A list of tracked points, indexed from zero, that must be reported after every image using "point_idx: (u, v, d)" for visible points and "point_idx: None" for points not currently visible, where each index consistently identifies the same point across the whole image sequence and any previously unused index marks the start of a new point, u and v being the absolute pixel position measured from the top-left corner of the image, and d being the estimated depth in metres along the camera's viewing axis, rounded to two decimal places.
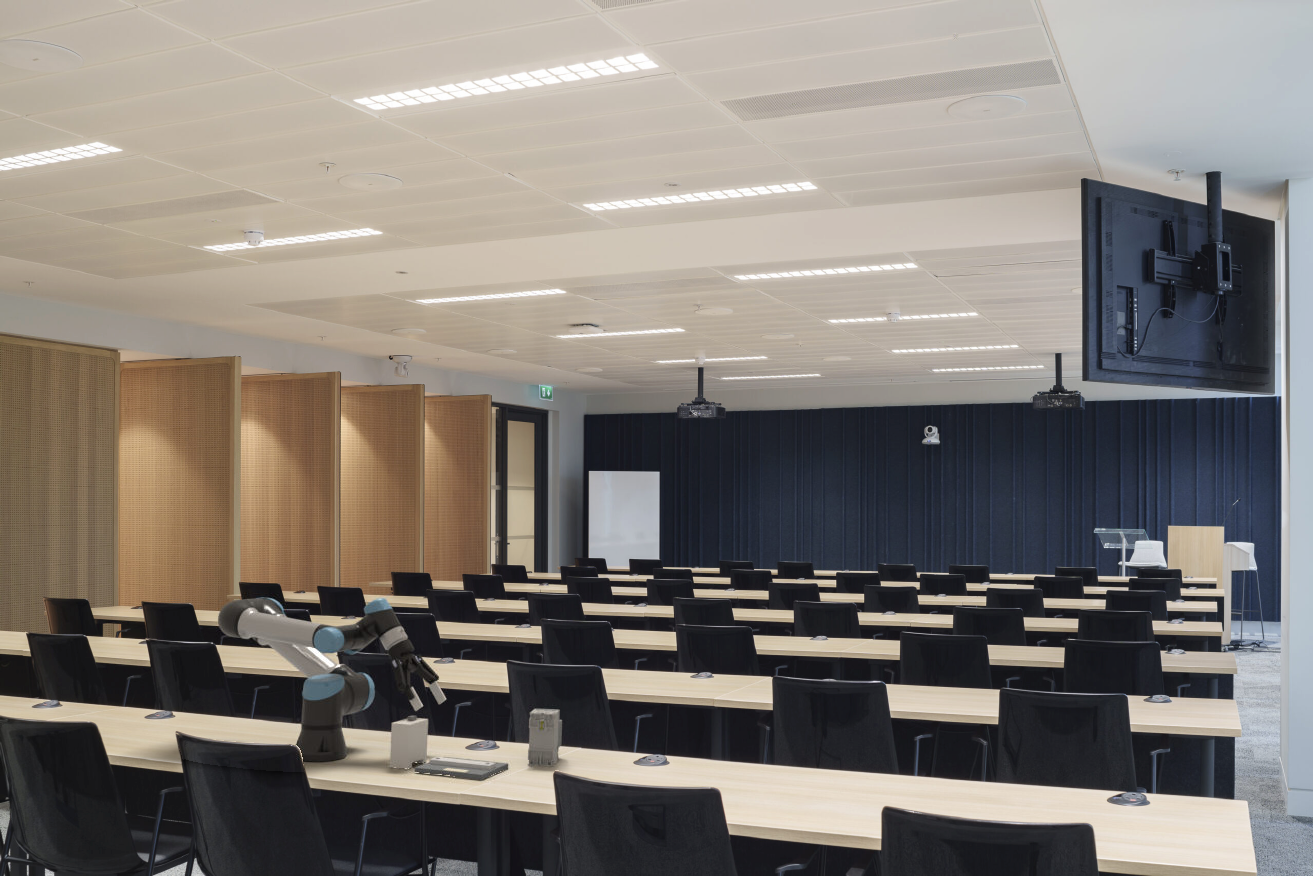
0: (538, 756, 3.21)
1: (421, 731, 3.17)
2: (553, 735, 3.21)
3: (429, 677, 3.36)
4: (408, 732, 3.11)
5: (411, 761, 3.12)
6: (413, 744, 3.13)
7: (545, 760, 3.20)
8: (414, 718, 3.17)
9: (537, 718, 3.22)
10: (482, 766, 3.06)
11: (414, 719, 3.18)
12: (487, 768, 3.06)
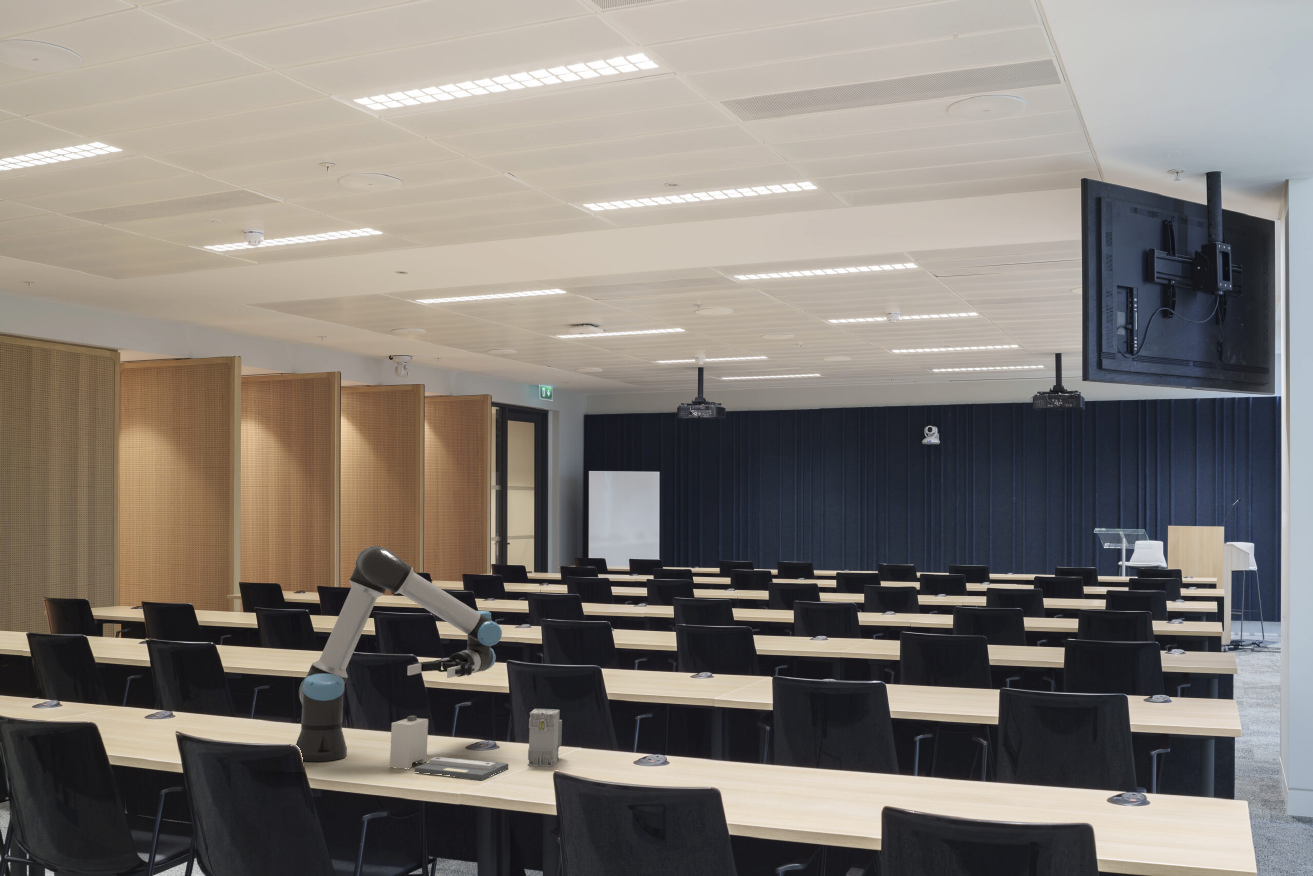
0: (538, 756, 3.21)
1: (421, 731, 3.17)
2: (553, 735, 3.21)
3: (426, 669, 3.37)
4: (408, 732, 3.11)
5: (411, 761, 3.12)
6: (413, 744, 3.13)
7: (545, 760, 3.20)
8: (414, 718, 3.17)
9: (537, 718, 3.22)
10: (482, 766, 3.06)
11: (414, 719, 3.18)
12: (487, 768, 3.06)
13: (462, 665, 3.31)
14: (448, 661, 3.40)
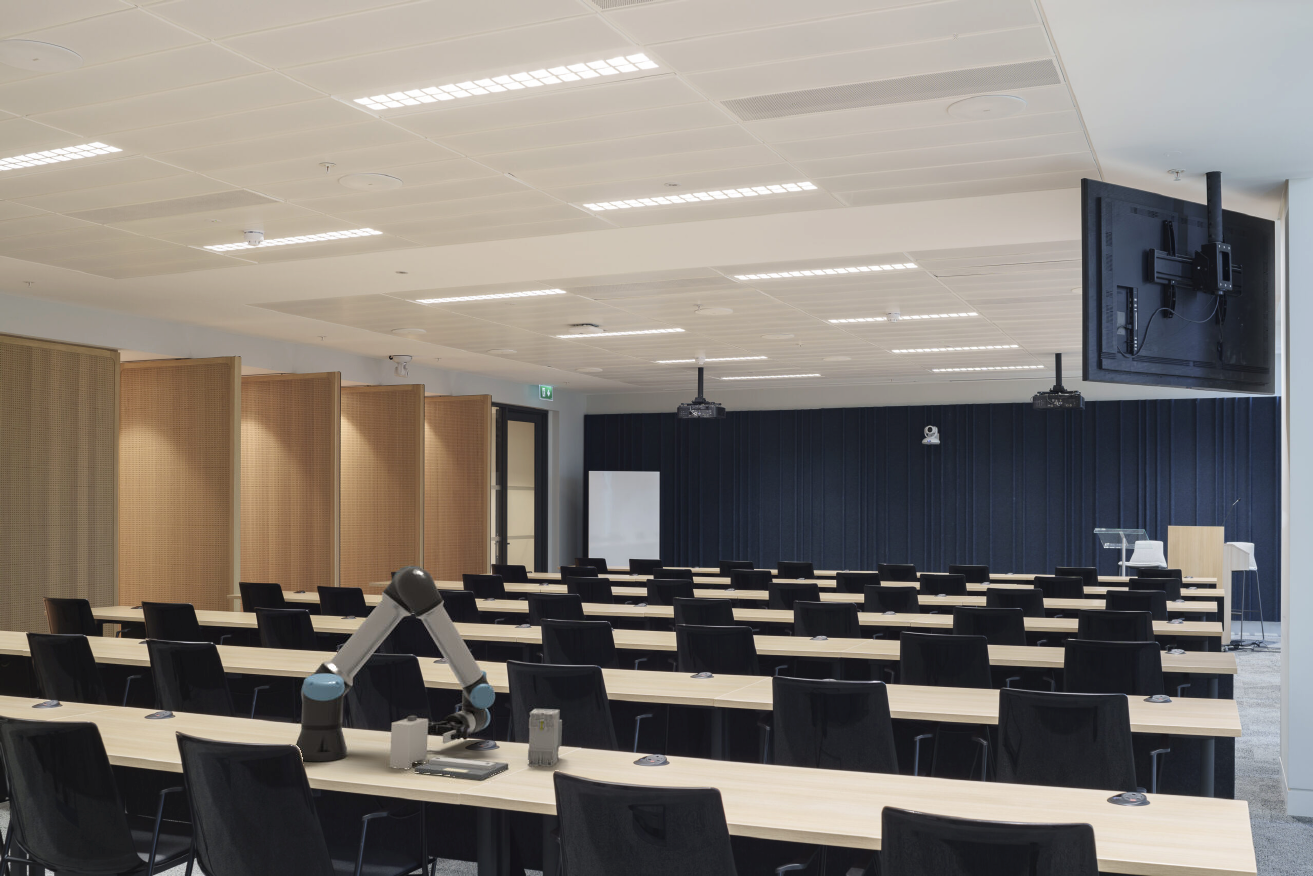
0: (538, 756, 3.21)
1: (421, 731, 3.17)
2: (553, 735, 3.21)
3: None
4: (408, 732, 3.11)
5: (411, 761, 3.12)
6: (413, 744, 3.13)
7: (545, 760, 3.20)
8: (414, 718, 3.17)
9: (537, 718, 3.22)
10: (482, 766, 3.06)
11: (414, 719, 3.18)
12: (487, 768, 3.06)
13: (458, 729, 3.27)
14: (443, 723, 3.37)
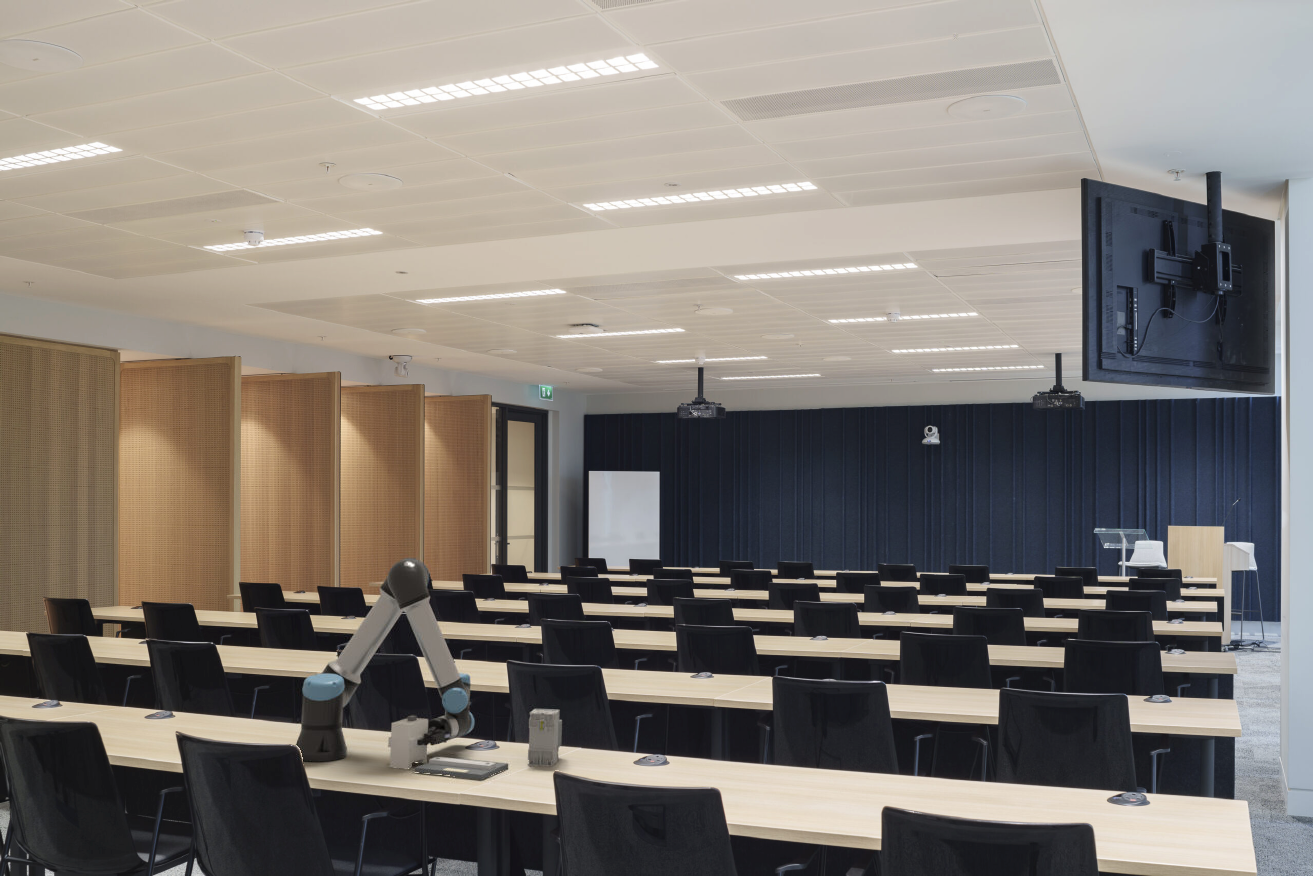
0: (538, 756, 3.21)
1: (421, 731, 3.17)
2: (553, 735, 3.21)
3: None
4: (408, 732, 3.11)
5: (411, 761, 3.12)
6: None
7: (545, 760, 3.20)
8: (414, 718, 3.17)
9: (537, 718, 3.22)
10: (482, 766, 3.06)
11: (414, 719, 3.18)
12: (487, 768, 3.06)
13: (424, 735, 3.17)
14: None
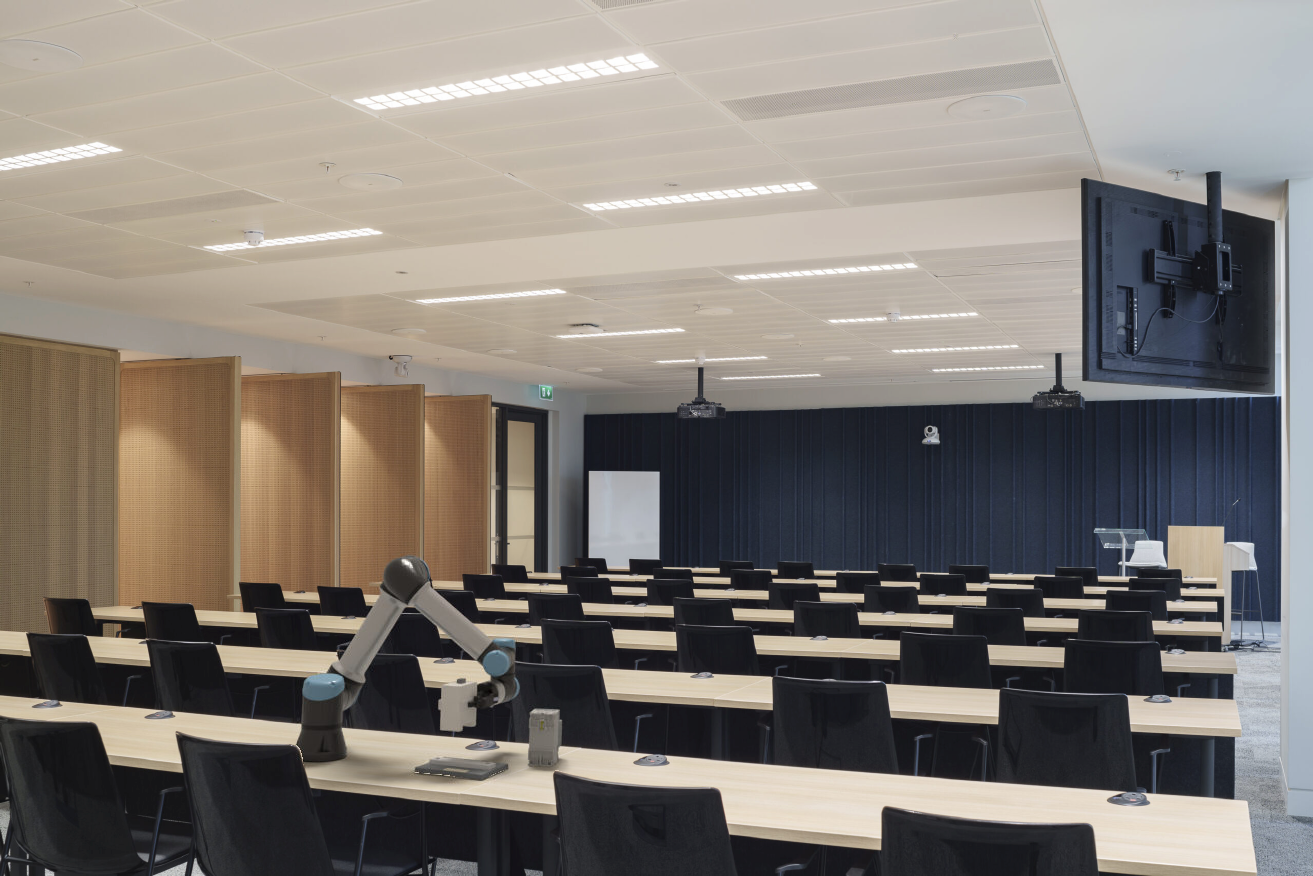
0: (538, 756, 3.21)
1: (470, 694, 3.14)
2: (553, 735, 3.21)
3: None
4: (459, 694, 3.08)
5: (462, 723, 3.09)
6: None
7: (545, 760, 3.20)
8: (463, 680, 3.14)
9: (537, 718, 3.22)
10: (482, 766, 3.06)
11: (463, 681, 3.14)
12: (487, 768, 3.06)
13: (474, 697, 3.14)
14: None
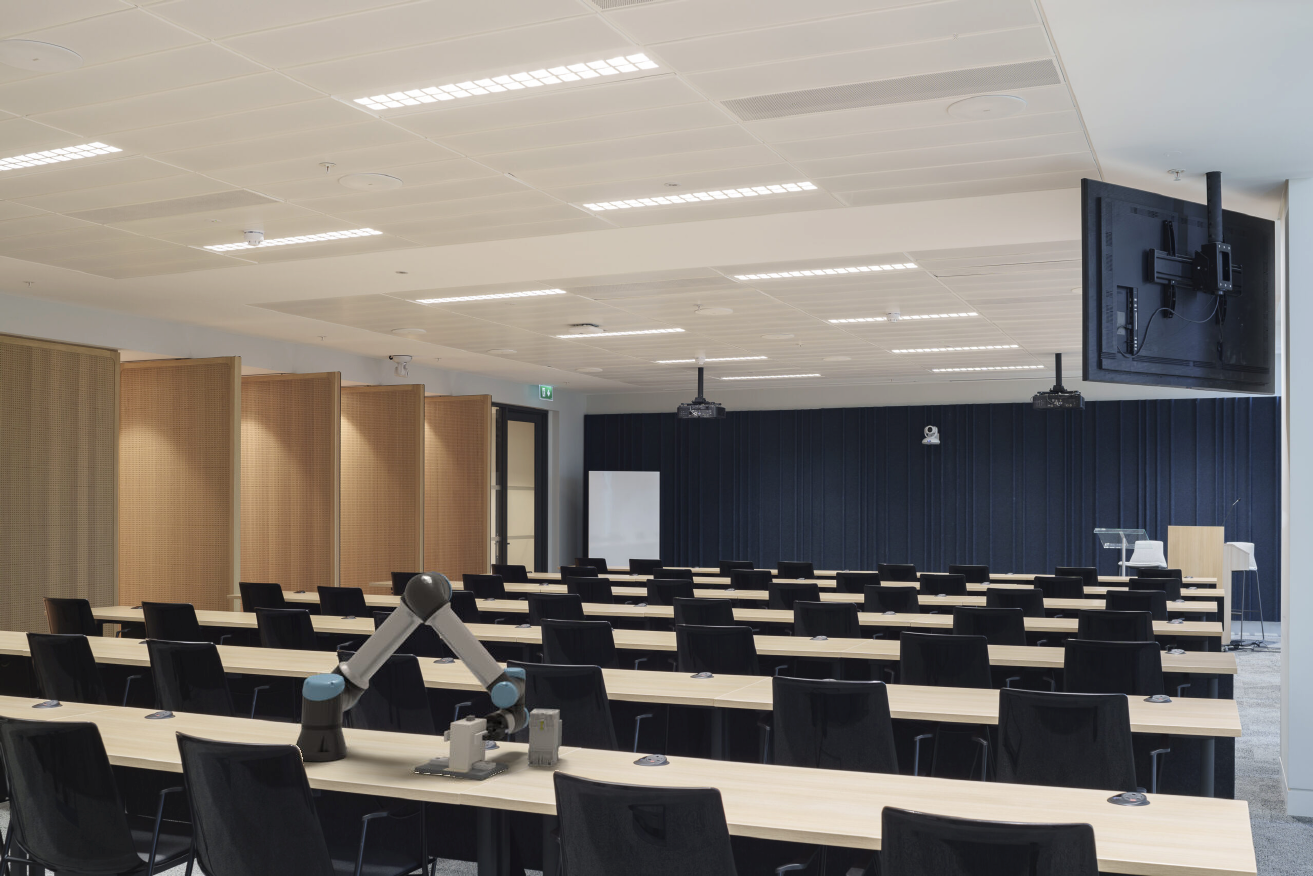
0: (538, 756, 3.21)
1: (480, 731, 3.11)
2: (553, 735, 3.21)
3: None
4: (468, 732, 3.05)
5: (471, 762, 3.06)
6: (472, 744, 3.07)
7: (545, 760, 3.20)
8: (472, 718, 3.12)
9: (537, 718, 3.22)
10: (482, 766, 3.06)
11: (473, 719, 3.12)
12: (487, 768, 3.06)
13: (489, 730, 3.11)
14: None
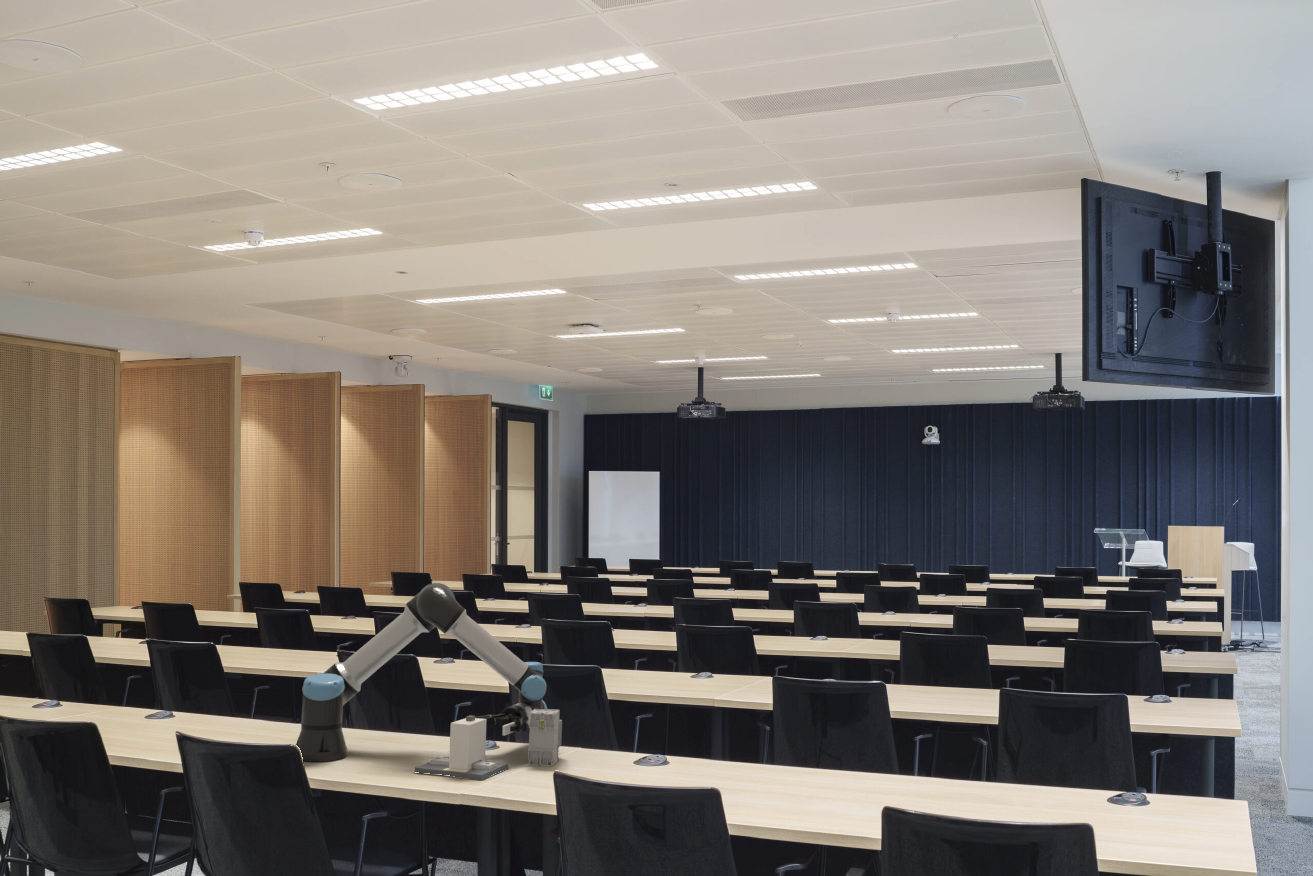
0: (538, 756, 3.21)
1: (480, 731, 3.11)
2: (553, 735, 3.21)
3: None
4: (468, 732, 3.05)
5: (471, 762, 3.06)
6: (472, 744, 3.07)
7: (545, 760, 3.20)
8: (472, 718, 3.12)
9: (537, 718, 3.22)
10: (482, 766, 3.06)
11: (473, 719, 3.12)
12: (487, 768, 3.06)
13: (517, 721, 3.24)
14: (501, 716, 3.33)
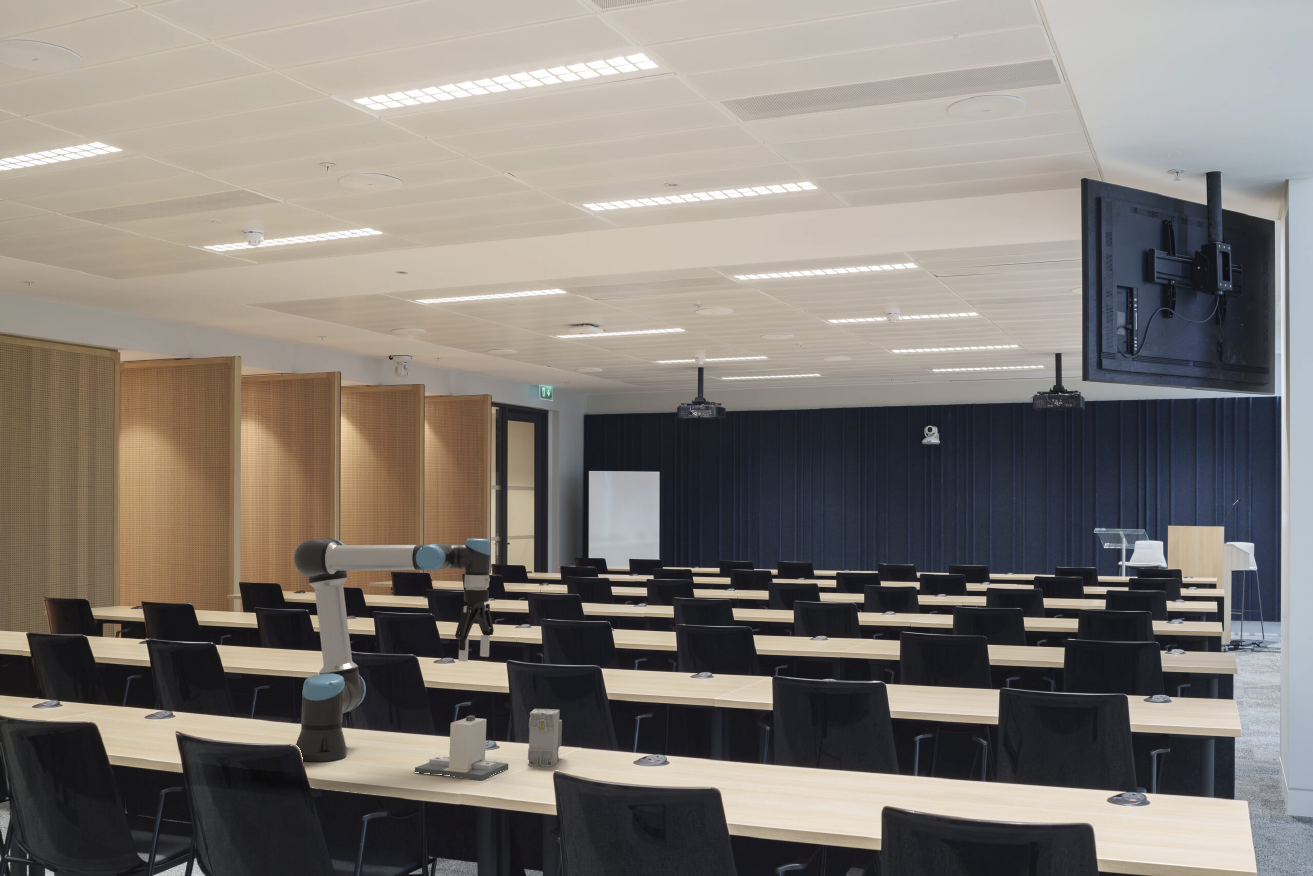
0: (538, 756, 3.21)
1: (480, 731, 3.11)
2: (553, 735, 3.21)
3: (485, 629, 3.41)
4: (468, 732, 3.05)
5: (471, 762, 3.06)
6: (472, 744, 3.07)
7: (545, 760, 3.20)
8: (472, 718, 3.12)
9: (537, 718, 3.22)
10: (482, 766, 3.06)
11: (473, 719, 3.12)
12: (487, 768, 3.06)
13: (457, 638, 3.28)
14: None
